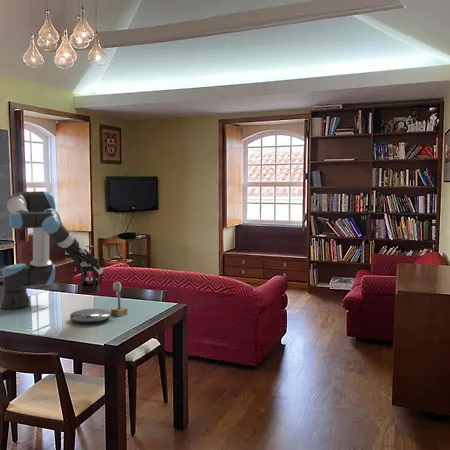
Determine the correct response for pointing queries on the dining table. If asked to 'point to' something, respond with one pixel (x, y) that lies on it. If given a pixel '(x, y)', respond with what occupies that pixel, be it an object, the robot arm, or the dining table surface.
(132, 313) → the dining table surface
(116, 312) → the dial gauge stand
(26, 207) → the robot arm
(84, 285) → the french press
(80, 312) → the disc
